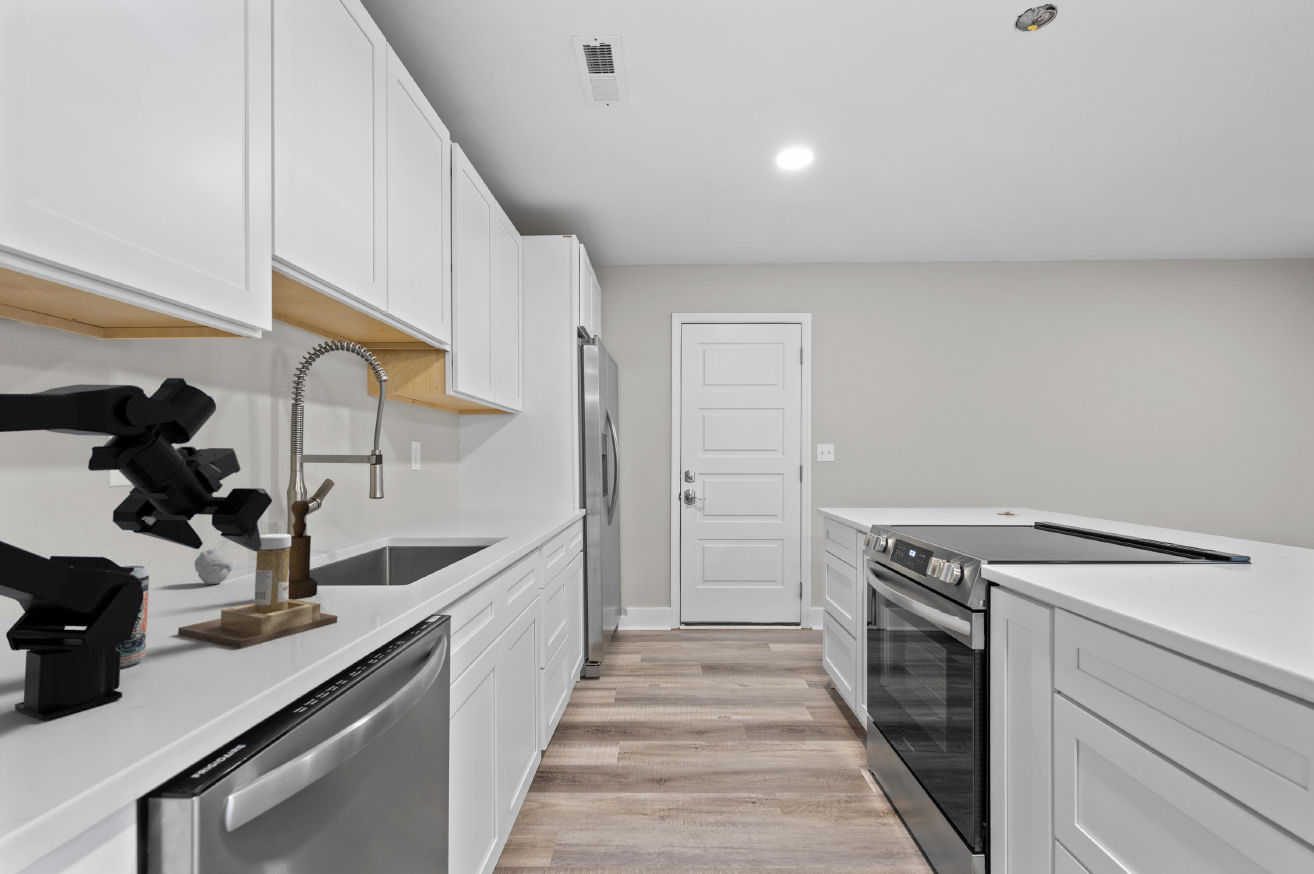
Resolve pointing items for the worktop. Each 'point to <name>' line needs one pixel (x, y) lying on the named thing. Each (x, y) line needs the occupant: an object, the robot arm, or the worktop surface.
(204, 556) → the white lumpy ball
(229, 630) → the socket
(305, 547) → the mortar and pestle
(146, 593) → the beer can
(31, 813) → the worktop surface
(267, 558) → the spice jar
